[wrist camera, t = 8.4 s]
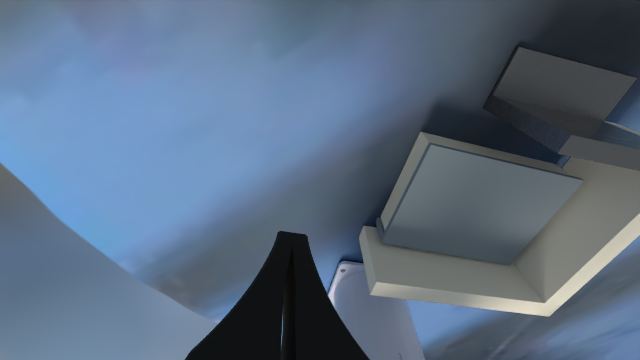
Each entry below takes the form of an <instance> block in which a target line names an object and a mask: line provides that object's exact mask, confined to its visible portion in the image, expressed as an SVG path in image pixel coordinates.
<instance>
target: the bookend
mask: <svg viewBox="0 0 640 360" xmlns="http://www.w3.org/2000/svg"><path fill="white" fill-rule="evenodd" d="M636 79H637V78H635V77H631V76H627V75H624V74H620V73H616V72H612V71H609V70H605V69H601V68H597V67H593V66H590V65H586V64H582V63H578V62H574V61H571V60H567V59H563V58H559V57H555V56H552V55H548V54H544V53H540V52H537V51H533V50H529V49H525V48H521V47H517V46H516V47H515V49H514V51H513V53H512V55H511V57H510V59H509V60H508V62H507V64H506V66H505V68H504V70H503V72H502V74H501V75H500V77H499V79H498V81H497V83H496V85H495V87H494V88H493V90H492V92H491V94H490V96H489V98H488V100H487V101H486V103H485V105H484V107H483V108H484V109H485V110H487V111H489V112H490V113H492V114H493V115H495V116H497V117H498V118H500V119H502V120H503V121H505V122H507V123H508V124H510V125H511V126H513V127H515V128H516V129H518V130H520V131H521V132H523V133H524V134H526V135H528V136H529V137H531V138H533V139H534V140H536V141H538V142H539V143H541V144H542V145H544V146H546V147H547V148H549V149H551V150H552V151H554V152H555V153H557V154H561V155H566V156H571V157H575V158H580V159H585V160H590V161H594V162H599V163H604V164H609V165H613V166H618V167H623V168H628V169H632V170H637V171H640V136H639V135H637V134H634V133H632V132H629V131H627V130H625V129H622V128H620V127H617V126H615V125H612V124H610V123H607V122H605V121H604V120H605V119H606V117H607V116H608V115H609V114H610V112H611V111H612V110H613V109H614V107H615V106H616V105H617V103H618V102H619V101H620V100H621V98H622V97H623V96H624V95H625V93H626V92H627V91H628V90H629V88H630V87H631V86H632V84H633V83H634V82H635V81H636Z"/></svg>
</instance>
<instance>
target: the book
mask: <svg viewBox="0 0 640 360" xmlns="http://www.w3.org/2000/svg"><path fill="white" fill-rule="evenodd" d="M583 182H584V180H582V179H581V178H578V177H574V176H572V175H571V174H569V173H568V172H566V171H565V170H563V169H562V168H560V167H559V166H557V165H556V164H553V163H549V162H545V161H540V160H536V159H532V158H528V157H524V156H520V155H515V154H511V153H507V152H503V151H499V150H495V149H490V148H486V147H482V146H478V145H474V144H470V143H465V142H461V141H457V140H453V139H449V138H445V137H440V136H436V135H432V134H428V133H424V132H420V134H419V136H418V138H417V140H416V142H415V144H414V146H413V148H412V151H411V153H410V155H409V157H408V159H407V161H406V163H405V166H404V168H403V170H402V172H401V174H400V176H399V178H398V180H397V183H396V185H395V187H394V189H393V191H392V193H391V195H390V197H389V200H388V202H387V204H386V206H385V208H384V210H383V212H382V214H381V218H380V217H378V218H377V220H376V225H377V229H378V232H379V236H380V239H381V243H385V244H390V245H396V246H402V247H408V248H414V249H420V250H425V251H431V252H437V253H443V254H449V255H454V256H460V257H466V258H472V259H478V260H483V261H489V262H495V263H501V264H507V265H510V264H511V263H512V262H513V261H514V260H515V258H516V257H517V256H518V255H519V254H520V253H521V252H522V251H523V249H524V248H525V247H526V246H527V245H528V244H529V243H530V242H531V240H532V239H533V238H534V237H535V236H536V235H537V234H538V233H539V231H540V230H541V229H542V228H543V227H544V226H545V225H546V224H547V222H548V221H549V220H550V219H551V218H552V217H553V216H554V215H555V213H556V212H557V211H558V210H559V209H560V208H561V207H562V206H563V204H564V203H565V202H566V201H567V200H568V199H569V198H570V197H571V195H572V194H573V193H574V192H575V191H576V190H577V189H578V188H579V186H580V185H581V184H582V183H583Z"/></svg>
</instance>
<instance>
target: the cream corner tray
mask: <svg viewBox="0 0 640 360" xmlns="http://www.w3.org/2000/svg"><path fill="white" fill-rule="evenodd" d="M605 122H607V123H610V124H612V125H615V126H617V127H620V128H622V129H625V130H627V131H629V132H632V133H634V134H637V135H639V136H640V132H637V131H635V130H632V129H630V128H627V127H624V126H622V125H619V124H617V123H612V122H608V121H605ZM562 169H563V170H565V171H566V172H568V173H569V174H571V175H572V176H574V177H578V178H581V179H582V180H584V182H583V183H582V184H581V185H580V186H579V188H578V189H577V190H576V191H575V192H574V193H573V194H572V195H571V197H570V198H569V199H568V200H567V201H566V202H565V203H564V204H563V206H562V207H561V208H560V209H559V210H558V211H557V212H556V213H555V215H554V216H553V217H552V218H551V219H550V220H549V221H548V222H547V224H546V225H545V226H544V227H543V228H542V229H541V230H540V231H539V233H538V234H537V235H536V236H535V237H534V238H533V239H532V240H531V242H530V243H529V244H528V245H527V246H526V247H525V248H524V249H523V251H522V252H521V253H520V254H519V255H518V256H517V257H516V258H515V260H514V261H513V262H512V263H511V264H510V265H507V264H501V263H495V262H489V261H483V260H478V259H472V258H466V257H460V256H454V255H449V254H443V253H437V252H431V251H425V250H420V249H414V248H408V247H402V246H396V245H390V244H385V243H381V239H380V236H379V232H378V229H377V228H376V227H370V226H363V228H362V231H361V233H360V236H359V241H360V246H361V251H362V256H363V262H364V267H365V272H366V277H367V282H368V287H369V292H370V295H375V296H383V297H391V298H400V299H408V300H416V301H425V302H433V303H441V304H450V305H458V306H466V307H475V308H483V309H491V310H500V311H508V312H516V313H525V314H533V315H541V316H550V315H551V314H552V313H553V312H554V311H556V310H557V309H558V308H559V307H560V306H561V305H562V304H563V303H564V302H566V301H567V300H568V299H569V298H570V297H571V296H572V295H573V294H574V293H576V292H577V291H578V290H579V289H580V288H581V287H582V286H583V285H584V284H586V283H587V282H588V281H589V280H590V279H591V278H592V277H593V276H594V275H596V274H597V273H598V272H599V271H600V270H601V269H602V268H603V267H604V266H606V265H607V264H608V263H609V262H610V261H611V260H612V259H613V258H614V257H616V256H617V255H618V254H619V253H620V252H621V251H622V250H623V249H624V248H626V247H627V246H628V245H629V244H630V243H631V242H632V241H633V240H634V239H636V238H637V237H638V236H639V235H640V171H637V170H632V169H628V168H623V167H618V166H613V165H609V164H604V163H599V162H594V161H590V160H585V159H580V158H575V157H570V159H569V160H568V161H567V162H566V164H565V165H564V166H563V168H562Z"/></svg>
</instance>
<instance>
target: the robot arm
mask: <svg viewBox="0 0 640 360" xmlns="http://www.w3.org/2000/svg"><path fill="white" fill-rule="evenodd" d="M282 316H283V334H282V345H281V333H282ZM185 360H425V358H424V355H423V351H422V348H421V345H420V342H419V339H418V336H417V332H416V329H415V326H414V323H413V320H412V317H411V313H410V310H409V307H408V304H407V301H406V299H400V298H391V297H383V296H375V295H370V292H369V287H368V282H367V277H366V272H365V267H364V263H356V262H349V261H342V262H340V263H339V265H338V268H337V271H336V273H335V276H334V279H333V282H332V284H331V287H330V290H329V292H328V294H327V292H326V290H325V288H324V286H323V284H322V281H321V279H320V277H319V274H318V271H317V269H316V266H315V263H314V260H313V257H312V254H311V251H310V247H309V243H308V237H307V236H306V235H305V234H298V233H291V232H284V231H279V232H278V233H277V238H276V241H275V243H274V246H273V248H272V250H271V252H270V254H269V256H268V258H267V260H266V262H265V263H264V265H263V267H262V268H261V270H260V272H259V273H258V275H257V276H256V278H255V279H254V281H253V282H252V284H251V285H250V287H249V288H248V289H247V291H246V292H245V293H244V295H243V296H242V297H241V299H240V300H239V301H238V302H237V303H236V305H235V306H234V307H233V308H232V310H231V311H230V312H229V313H228V314H227V315H226V316H225V317H224V318H223V319H222V321H221V322H220V323H219V324H218V325H217V326H216V327H215V328H214V329H213V330H212V331H211V332H210V333H209V334H208V335H207V336H206V337H205V338H204V339H203V340H202V341H201V342H200V343H199V344H198V345H197V346H196V347H194V348H193V349H192V350H191V352H190V353H189V354H188V356H187V357H186V359H185Z"/></svg>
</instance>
